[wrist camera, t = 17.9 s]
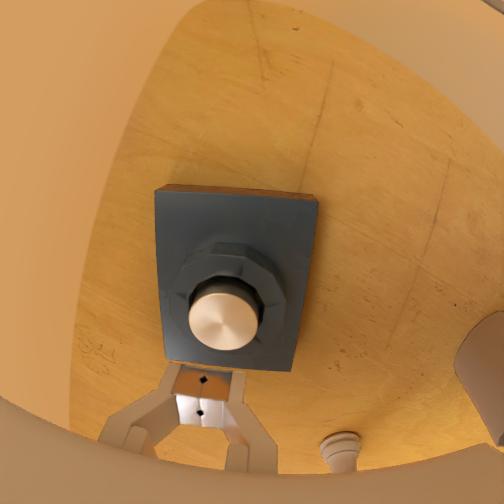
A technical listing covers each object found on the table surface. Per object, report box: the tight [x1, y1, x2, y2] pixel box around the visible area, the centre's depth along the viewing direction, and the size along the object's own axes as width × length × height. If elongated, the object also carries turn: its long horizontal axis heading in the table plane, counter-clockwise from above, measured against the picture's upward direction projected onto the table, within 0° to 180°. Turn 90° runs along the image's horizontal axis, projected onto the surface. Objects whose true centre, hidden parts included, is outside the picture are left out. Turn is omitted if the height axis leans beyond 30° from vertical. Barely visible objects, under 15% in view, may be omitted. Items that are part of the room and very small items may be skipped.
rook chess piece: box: [320, 432, 361, 473], centre depth 23 cm, size 4×4×8 cm
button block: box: [155, 184, 319, 372], centre depth 18 cm, size 12×9×4 cm
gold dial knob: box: [188, 278, 259, 350], centre depth 16 cm, size 4×4×2 cm
